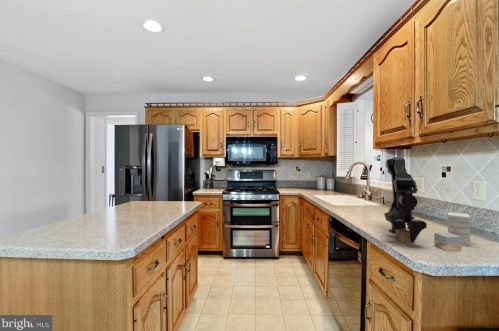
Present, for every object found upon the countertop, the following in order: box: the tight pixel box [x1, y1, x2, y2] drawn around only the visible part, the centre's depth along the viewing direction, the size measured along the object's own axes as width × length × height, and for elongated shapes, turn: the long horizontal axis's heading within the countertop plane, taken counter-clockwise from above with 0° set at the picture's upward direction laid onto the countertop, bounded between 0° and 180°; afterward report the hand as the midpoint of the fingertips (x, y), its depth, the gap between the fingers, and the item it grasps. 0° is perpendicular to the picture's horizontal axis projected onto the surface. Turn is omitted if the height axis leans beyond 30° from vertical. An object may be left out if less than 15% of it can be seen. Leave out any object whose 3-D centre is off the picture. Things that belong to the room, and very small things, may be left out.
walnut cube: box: [395, 228, 413, 245], centre depth 108 cm, size 5×5×5 cm
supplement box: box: [447, 212, 472, 247], centre depth 106 cm, size 7×7×13 cm
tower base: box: [433, 239, 462, 252], centre depth 99 cm, size 6×6×3 cm
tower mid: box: [433, 232, 461, 245], centre depth 99 cm, size 6×6×3 cm
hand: (404, 239), depth 108 cm, fingers open, 9 cm apart
